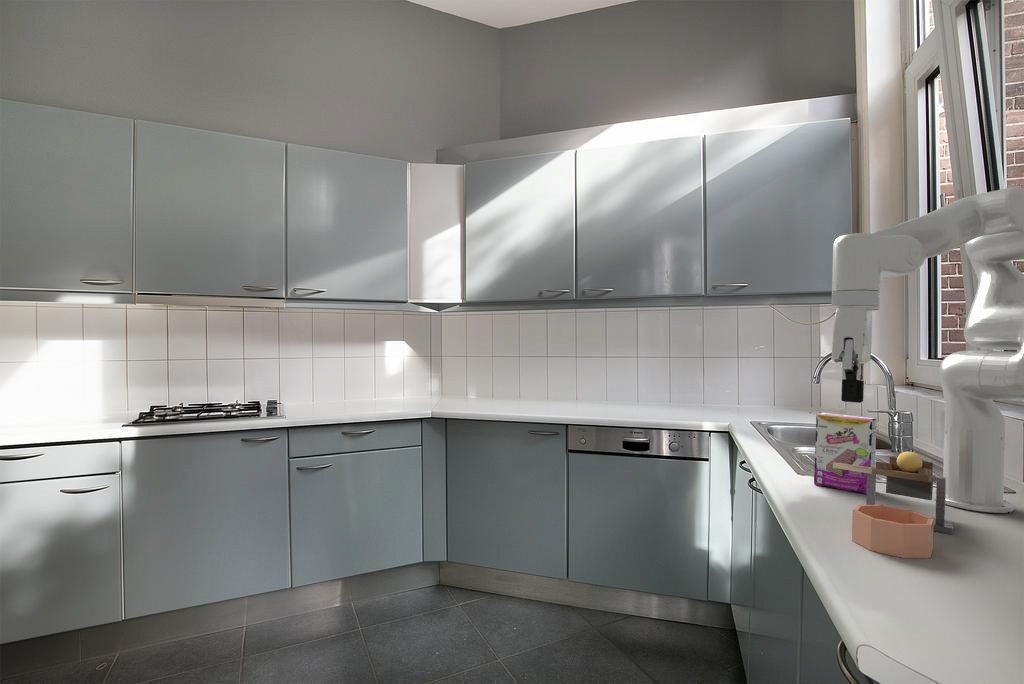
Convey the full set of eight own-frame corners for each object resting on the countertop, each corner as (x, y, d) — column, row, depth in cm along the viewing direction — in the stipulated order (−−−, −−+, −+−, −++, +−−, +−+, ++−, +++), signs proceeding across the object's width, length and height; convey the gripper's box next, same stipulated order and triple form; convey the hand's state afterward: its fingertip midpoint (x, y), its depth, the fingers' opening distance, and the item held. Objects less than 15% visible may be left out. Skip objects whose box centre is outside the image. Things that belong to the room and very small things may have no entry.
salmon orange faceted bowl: (860, 529, 95) (860, 501, 95) (934, 545, 88) (935, 514, 88) (848, 545, 87) (849, 514, 87) (928, 563, 81) (929, 530, 81)
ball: (897, 472, 107) (898, 451, 108) (922, 475, 105) (923, 454, 105) (894, 469, 104) (896, 448, 105) (920, 473, 102) (922, 451, 103)
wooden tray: (850, 486, 113) (852, 452, 114) (935, 500, 104) (936, 463, 105) (831, 487, 100) (833, 448, 101) (927, 503, 90) (929, 461, 91)
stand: (861, 510, 107) (862, 464, 107) (953, 527, 97) (955, 477, 97) (857, 515, 103) (858, 468, 103) (952, 534, 94) (953, 482, 94)
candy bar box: (813, 485, 125) (814, 413, 125) (819, 481, 129) (820, 412, 129) (870, 495, 117) (872, 419, 117) (875, 491, 121) (877, 417, 121)
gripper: (840, 305, 108) (837, 397, 108) (822, 299, 97) (819, 402, 97) (885, 304, 103) (882, 401, 103) (872, 298, 92) (869, 406, 92)
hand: (852, 401), depth 100 cm, fingers closed
